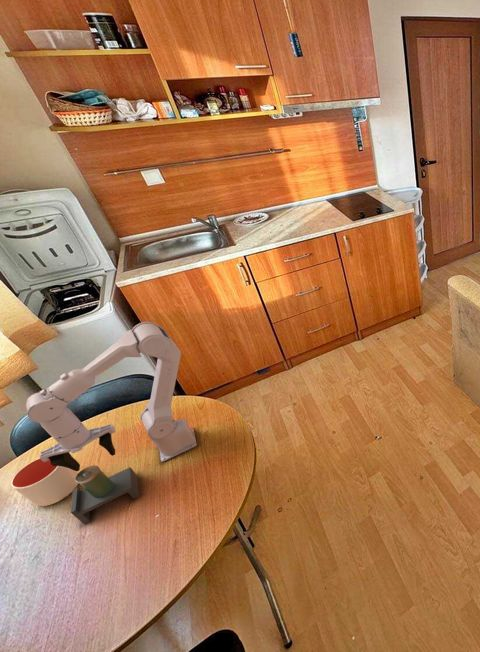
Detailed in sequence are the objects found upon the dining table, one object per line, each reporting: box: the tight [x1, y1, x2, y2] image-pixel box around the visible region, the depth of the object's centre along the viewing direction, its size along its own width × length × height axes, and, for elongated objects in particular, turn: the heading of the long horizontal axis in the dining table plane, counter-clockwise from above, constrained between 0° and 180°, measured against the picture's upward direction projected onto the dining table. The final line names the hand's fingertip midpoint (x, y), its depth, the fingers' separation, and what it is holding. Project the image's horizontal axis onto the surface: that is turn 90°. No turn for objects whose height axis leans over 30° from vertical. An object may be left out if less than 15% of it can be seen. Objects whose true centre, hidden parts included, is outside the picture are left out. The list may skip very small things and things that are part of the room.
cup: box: [10, 457, 79, 507], centre depth 104 cm, size 10×10×10 cm
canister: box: [75, 464, 114, 498], centre depth 100 cm, size 5×5×8 cm
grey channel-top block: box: [70, 466, 140, 525], centre depth 103 cm, size 12×8×6 cm, turn 128°
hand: (96, 460), depth 104 cm, fingers open, 7 cm apart
